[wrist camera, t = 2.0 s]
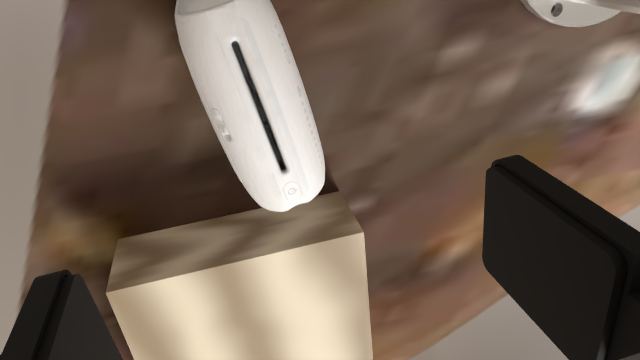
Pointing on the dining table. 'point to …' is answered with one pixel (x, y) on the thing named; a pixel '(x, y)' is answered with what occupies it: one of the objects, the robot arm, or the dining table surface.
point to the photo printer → (253, 97)
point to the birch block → (247, 287)
